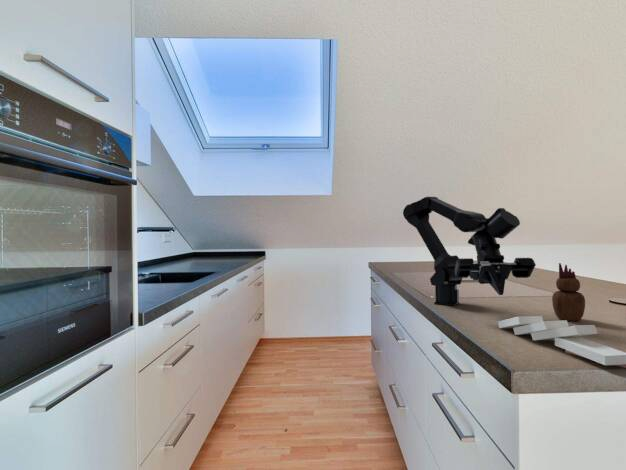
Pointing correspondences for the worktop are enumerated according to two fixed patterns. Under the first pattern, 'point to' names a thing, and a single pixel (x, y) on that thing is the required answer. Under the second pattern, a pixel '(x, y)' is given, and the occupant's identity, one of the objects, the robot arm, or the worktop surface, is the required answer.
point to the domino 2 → (540, 327)
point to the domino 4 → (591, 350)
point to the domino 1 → (519, 321)
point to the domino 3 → (565, 332)
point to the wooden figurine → (568, 296)
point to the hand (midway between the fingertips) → (501, 294)
